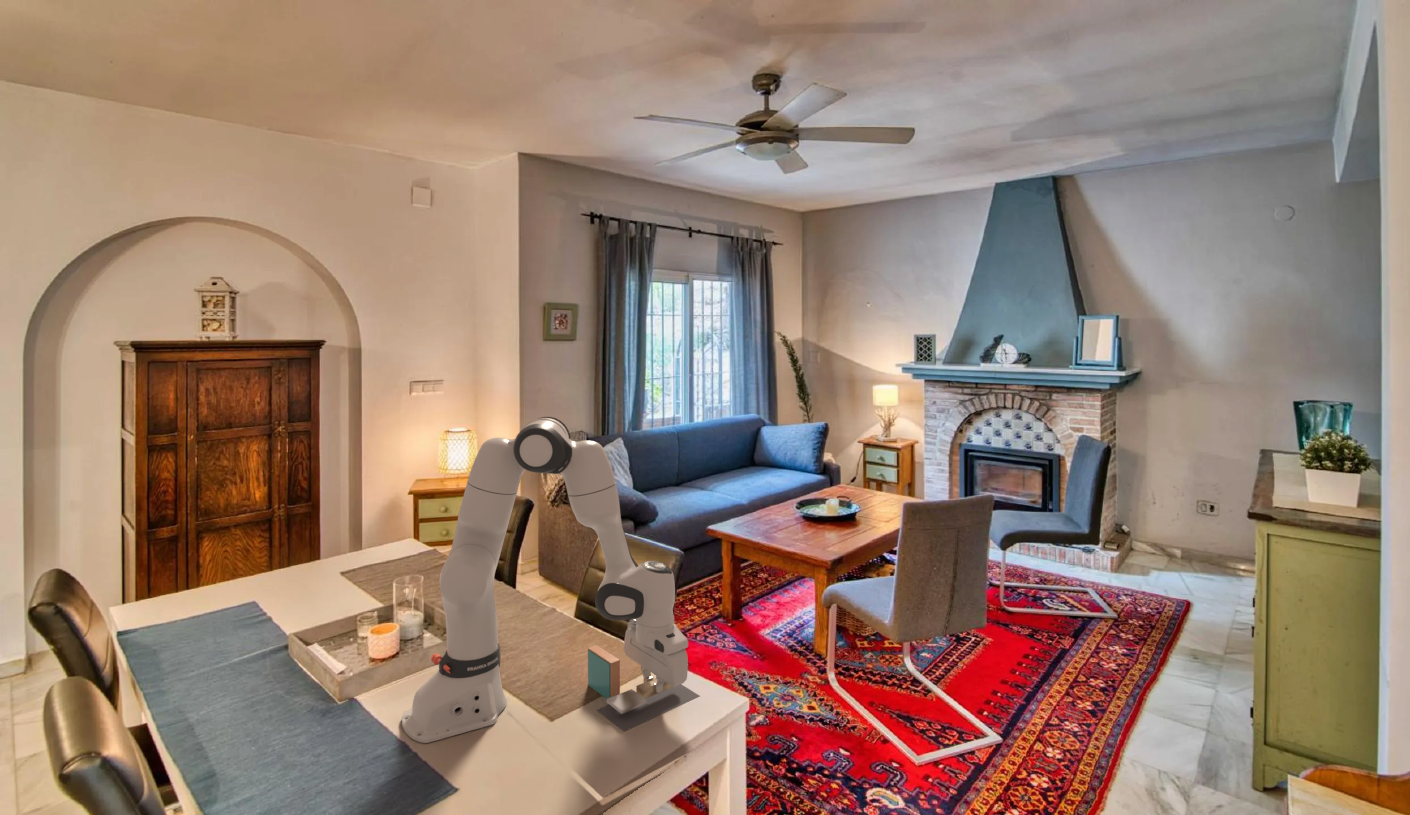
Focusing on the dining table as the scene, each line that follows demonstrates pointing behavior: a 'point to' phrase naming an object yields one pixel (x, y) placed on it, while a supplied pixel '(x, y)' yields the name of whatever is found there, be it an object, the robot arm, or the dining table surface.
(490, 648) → the robot arm
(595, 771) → the dining table surface
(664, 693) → the mat
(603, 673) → the tile
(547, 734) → the dining table surface
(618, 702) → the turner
